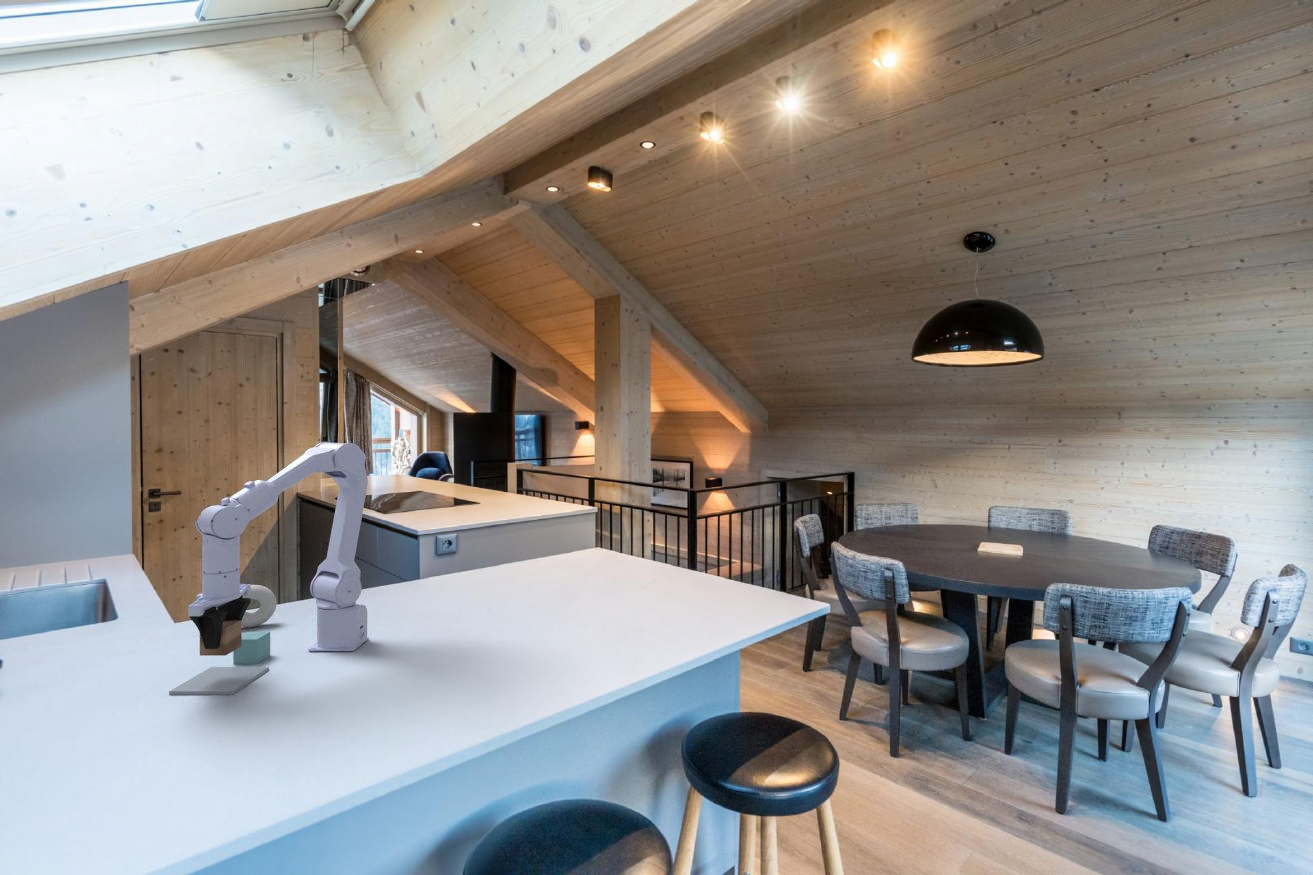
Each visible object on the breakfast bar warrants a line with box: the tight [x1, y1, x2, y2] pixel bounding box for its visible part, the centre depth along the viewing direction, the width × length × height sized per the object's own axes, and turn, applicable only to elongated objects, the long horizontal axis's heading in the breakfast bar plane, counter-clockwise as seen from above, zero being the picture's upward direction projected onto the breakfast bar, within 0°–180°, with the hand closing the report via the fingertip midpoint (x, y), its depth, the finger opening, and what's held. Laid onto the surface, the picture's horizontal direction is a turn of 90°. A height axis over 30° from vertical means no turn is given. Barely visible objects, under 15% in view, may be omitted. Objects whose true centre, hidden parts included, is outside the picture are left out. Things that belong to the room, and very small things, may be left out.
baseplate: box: [168, 666, 270, 696], centre depth 116 cm, size 11×11×1 cm
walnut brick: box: [199, 620, 243, 657], centre depth 116 cm, size 5×5×5 cm
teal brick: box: [232, 631, 271, 665], centre depth 127 cm, size 5×5×5 cm
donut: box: [242, 584, 278, 628], centre depth 146 cm, size 10×4×10 cm, turn 121°
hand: (221, 643), depth 116 cm, fingers closed on walnut brick, 5 cm apart
